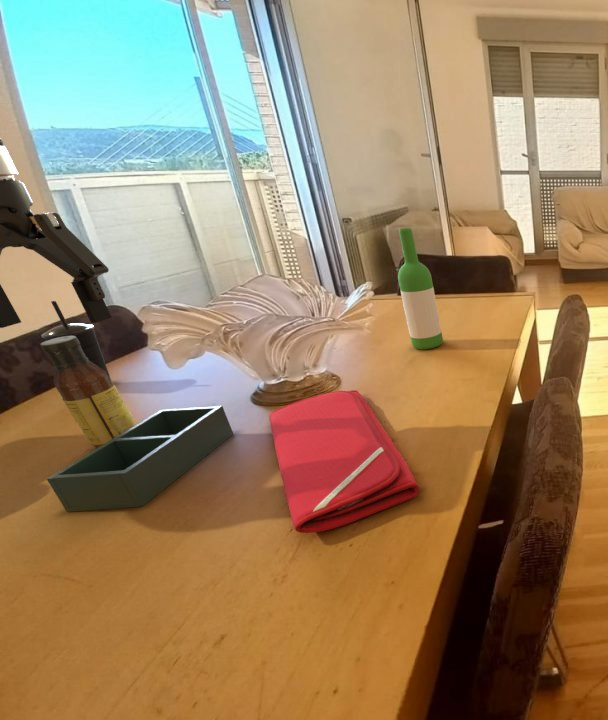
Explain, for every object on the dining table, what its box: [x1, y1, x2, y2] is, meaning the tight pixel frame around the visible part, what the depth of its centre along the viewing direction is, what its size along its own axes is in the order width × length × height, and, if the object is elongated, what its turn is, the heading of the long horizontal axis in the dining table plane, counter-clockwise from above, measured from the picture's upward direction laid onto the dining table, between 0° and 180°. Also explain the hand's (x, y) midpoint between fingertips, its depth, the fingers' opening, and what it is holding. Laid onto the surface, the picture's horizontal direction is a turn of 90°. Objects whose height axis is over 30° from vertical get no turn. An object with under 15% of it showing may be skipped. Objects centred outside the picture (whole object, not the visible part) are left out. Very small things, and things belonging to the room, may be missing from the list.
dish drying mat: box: [269, 389, 420, 534], centre depth 78 cm, size 16×41×4 cm, turn 38°
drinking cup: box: [41, 300, 112, 381], centre depth 102 cm, size 8×8×20 cm
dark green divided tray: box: [46, 405, 234, 513], centre depth 75 cm, size 10×20×6 cm, turn 5°
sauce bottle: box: [39, 336, 138, 450], centre depth 80 cm, size 7×6×20 cm
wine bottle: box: [397, 227, 444, 351], centre depth 119 cm, size 8×8×30 cm
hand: (56, 322), depth 75 cm, fingers open, 13 cm apart
